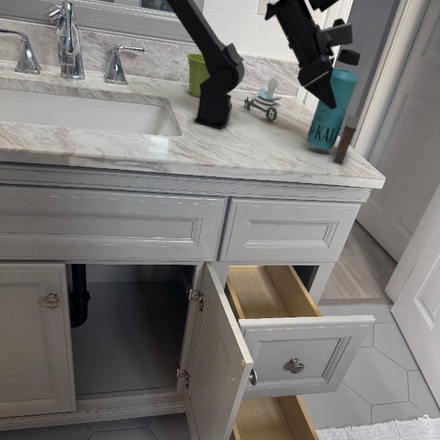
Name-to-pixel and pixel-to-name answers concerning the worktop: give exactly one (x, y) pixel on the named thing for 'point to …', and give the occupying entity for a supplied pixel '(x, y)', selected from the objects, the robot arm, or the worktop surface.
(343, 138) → the dark brown flat block
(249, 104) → the key
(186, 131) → the worktop surface
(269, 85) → the pacifier
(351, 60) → the beverage bottle
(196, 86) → the plant pot
